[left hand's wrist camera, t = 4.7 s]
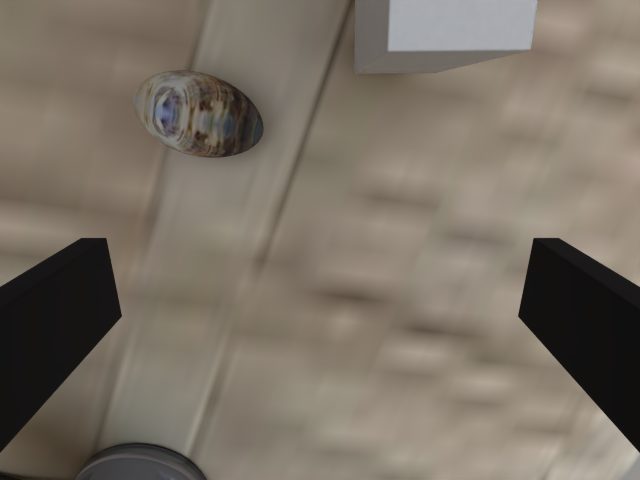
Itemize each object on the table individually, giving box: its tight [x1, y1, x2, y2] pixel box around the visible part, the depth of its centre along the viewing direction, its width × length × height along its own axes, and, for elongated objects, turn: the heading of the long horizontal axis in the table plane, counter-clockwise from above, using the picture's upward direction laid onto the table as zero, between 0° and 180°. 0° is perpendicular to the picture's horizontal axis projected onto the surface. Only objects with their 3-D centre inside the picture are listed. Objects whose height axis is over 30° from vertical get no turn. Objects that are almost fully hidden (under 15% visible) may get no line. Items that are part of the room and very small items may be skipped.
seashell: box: [134, 71, 263, 157], centre depth 28 cm, size 10×6×8 cm, turn 76°
